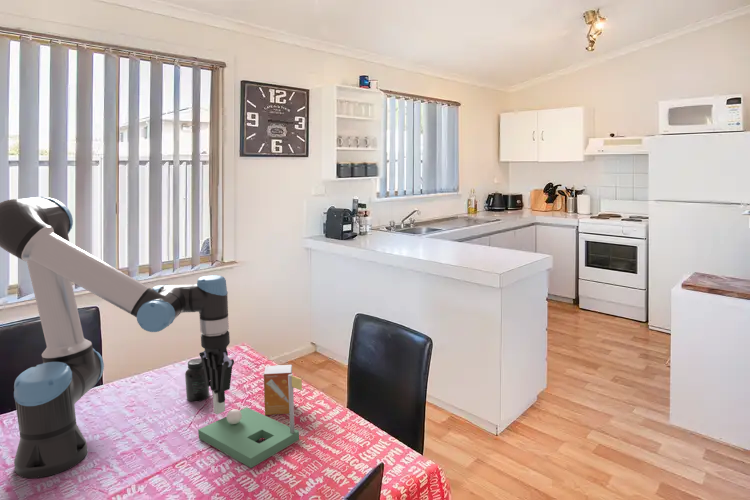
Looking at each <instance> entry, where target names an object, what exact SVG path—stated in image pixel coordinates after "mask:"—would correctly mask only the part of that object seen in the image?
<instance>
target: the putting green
mask: <svg viewBox="0 0 750 500" xmlns="http://www.w3.org/2000/svg"><path fill="white" fill-rule="evenodd" d="M302 380H303V379H302V378H300V377H297V376H295V375H293V373H292V374H289V375H288V385H289V414H288V415H289V425H286V424H284V423H282V422H280V421H278V420H276V419H274V418H271V417H269V416H268V415H265V414H263V413H260V412H259V411H256V410H254V409H251V408H250V407H247V406H246V407H244V408H242V409H240V410H239V411H240V412H241V414H242V418H241V420H240V422H239V423H237V424H230V423H229V422H228V421H227V416H225V417H223V418H220V419H218V420H216V421H214V422H212V423H209V424H208V425H206V426H203V427H202V428H201V427H200V428H199V429H197V430H198V431H197V432H198V439H199V440H201V441H202V442H205V443H206V444H207V445H210V446H212V447H213V448H215V449H217V450H219V452H221V453H224V454H226V455H227V456H229V457H231V458H232V459H234V460H236V461H238V462H240V463H241V464H243V465H245V466H247V467H248V468H250V469H252V468H253V467H256V466H257V465H259V464H260V463H262V462H264V461H266V460H267V459H269V458H271V457H272V456H274V455H276V454H278V453H279V452H281V451H282V450H284V449H286V448H288V447H289V446H291V445H293V444H295V443H296V442H298V441H299V440H300V430H298V429H295V404H294V403H295V401H294V389H297V390H300V391H302V390H303V381H302Z"/></svg>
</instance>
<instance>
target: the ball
mask: <svg viewBox="0 0 750 500" xmlns="http://www.w3.org/2000/svg"><path fill="white" fill-rule="evenodd" d="M226 417H227V421H228V422H229V423H230V424H237V423H239V422H240V420H241V418H242V414H241V412H240V410H239V409H236V408H233V409H231V410H229V411H228V412H227V414H226Z"/></svg>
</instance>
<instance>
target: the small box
mask: <svg viewBox="0 0 750 500" xmlns="http://www.w3.org/2000/svg"><path fill="white" fill-rule="evenodd" d="M289 374H292V375H293V364H276V365H265V366H264V372H263V388H264V389H263V391H264V392H263V394H264V396H263V397H264V415H265V416H269V415H272V416H273V415H285V414H286V415H289V385H288V375H289Z"/></svg>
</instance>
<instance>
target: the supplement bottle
mask: <svg viewBox="0 0 750 500" xmlns="http://www.w3.org/2000/svg"><path fill="white" fill-rule="evenodd" d="M184 378H185V392H186V393H185V394H186V399H187V400H188V401H190V402H201V401H204V400H206V399H208V397H209V396H210V386H207V384H206V379H205V374H204V369H203V364H202V360H201V358H192V359H190V360H189V361H187V369H186V370H185V373H184Z"/></svg>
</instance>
